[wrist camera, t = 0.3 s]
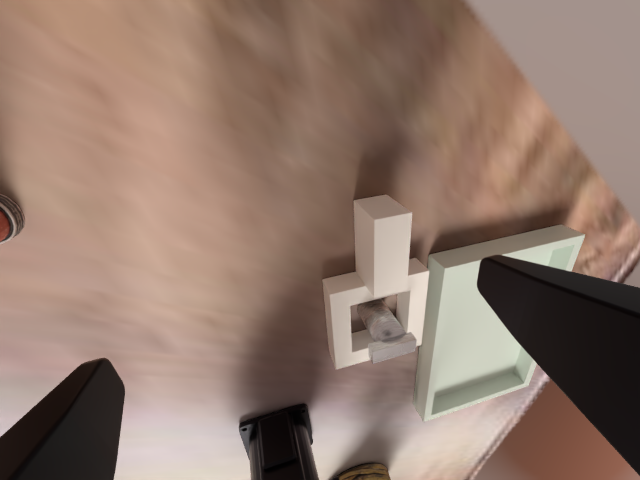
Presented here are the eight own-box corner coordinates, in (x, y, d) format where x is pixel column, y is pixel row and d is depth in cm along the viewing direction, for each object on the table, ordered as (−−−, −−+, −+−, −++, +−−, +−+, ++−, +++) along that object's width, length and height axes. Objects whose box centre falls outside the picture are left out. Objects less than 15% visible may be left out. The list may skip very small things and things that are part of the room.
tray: (513, 370, 38) (528, 385, 36) (413, 403, 35) (423, 422, 33) (561, 224, 28) (585, 234, 26) (428, 254, 26) (444, 268, 24)
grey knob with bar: (385, 313, 27) (415, 356, 23) (348, 323, 27) (372, 369, 22) (385, 291, 26) (417, 333, 22) (348, 301, 26) (372, 346, 21)
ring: (409, 329, 29) (431, 357, 26) (329, 351, 28) (341, 384, 25) (421, 188, 22) (451, 204, 19) (315, 207, 21) (330, 228, 18)
